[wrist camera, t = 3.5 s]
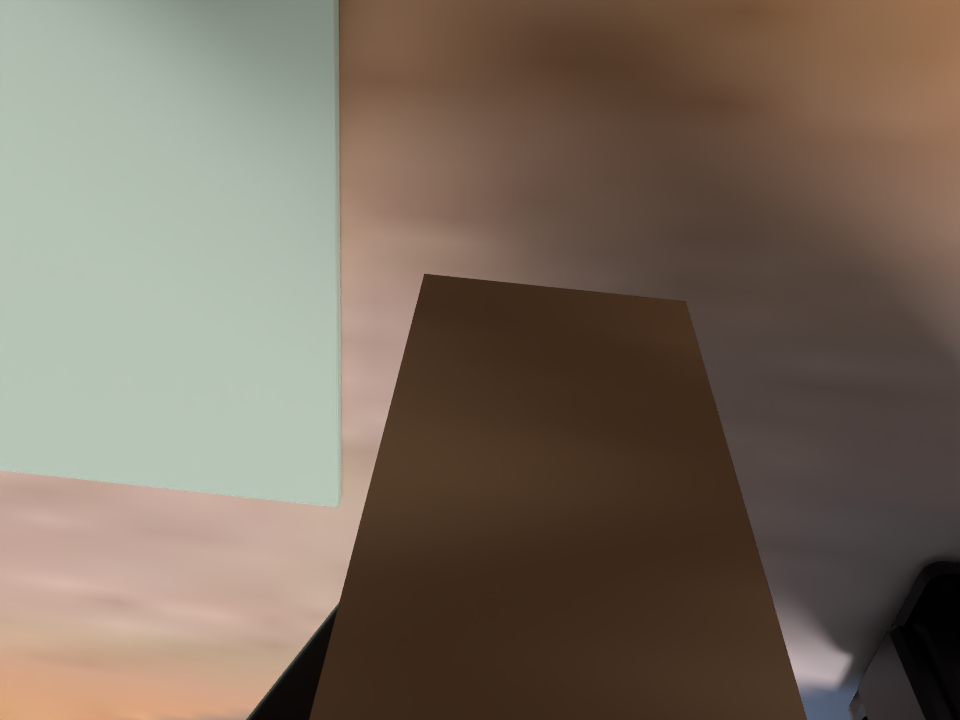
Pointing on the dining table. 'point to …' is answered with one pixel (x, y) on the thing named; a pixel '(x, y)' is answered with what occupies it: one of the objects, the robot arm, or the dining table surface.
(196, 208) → the mat
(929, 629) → the robot arm
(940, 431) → the dining table surface
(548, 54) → the dining table surface
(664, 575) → the walnut slab
